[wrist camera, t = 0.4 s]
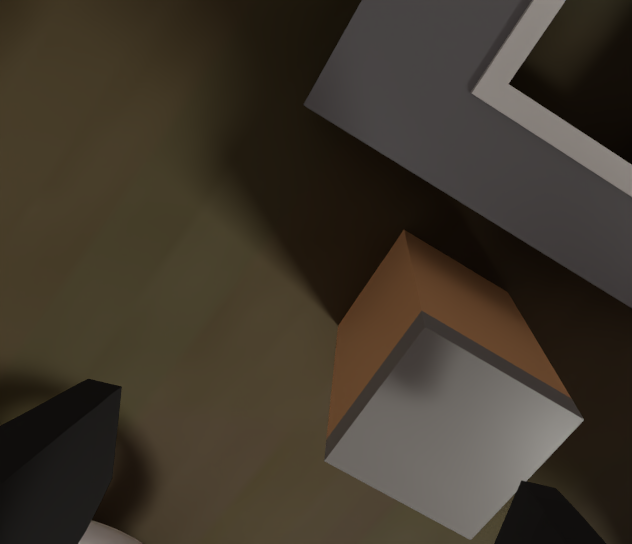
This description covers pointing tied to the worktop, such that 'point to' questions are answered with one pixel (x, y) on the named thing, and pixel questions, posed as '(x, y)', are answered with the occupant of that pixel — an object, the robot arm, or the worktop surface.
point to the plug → (442, 390)
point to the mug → (105, 535)
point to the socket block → (481, 126)
